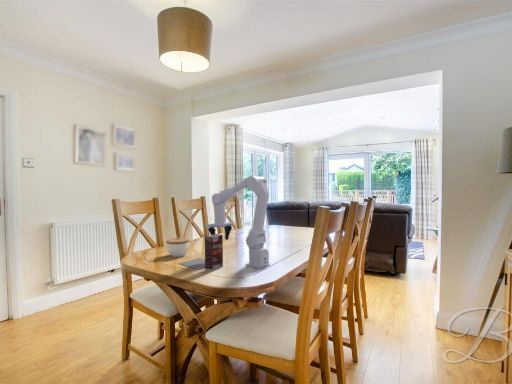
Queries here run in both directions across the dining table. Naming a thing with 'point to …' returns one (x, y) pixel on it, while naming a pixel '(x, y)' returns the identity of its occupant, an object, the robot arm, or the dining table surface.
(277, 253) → the dining table surface
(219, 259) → the supplement box
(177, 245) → the lidded bowl
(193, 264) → the felt mat
